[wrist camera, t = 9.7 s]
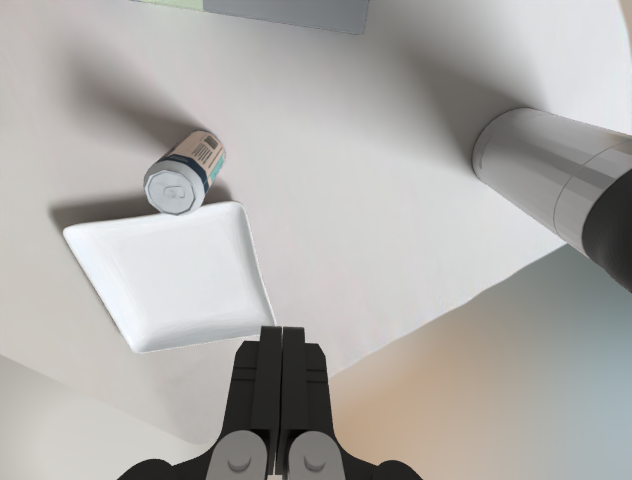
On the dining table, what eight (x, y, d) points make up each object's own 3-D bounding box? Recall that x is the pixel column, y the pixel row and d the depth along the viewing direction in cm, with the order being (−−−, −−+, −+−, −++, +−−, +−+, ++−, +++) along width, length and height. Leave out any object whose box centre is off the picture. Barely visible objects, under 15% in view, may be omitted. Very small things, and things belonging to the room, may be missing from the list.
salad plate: (245, 188, 40) (242, 200, 37) (279, 317, 50) (278, 334, 47) (71, 215, 40) (54, 228, 37) (142, 338, 51) (133, 356, 48)
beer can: (176, 131, 35) (130, 166, 25) (221, 128, 36) (193, 162, 25) (187, 174, 38) (149, 222, 27) (230, 171, 38) (207, 218, 28)
